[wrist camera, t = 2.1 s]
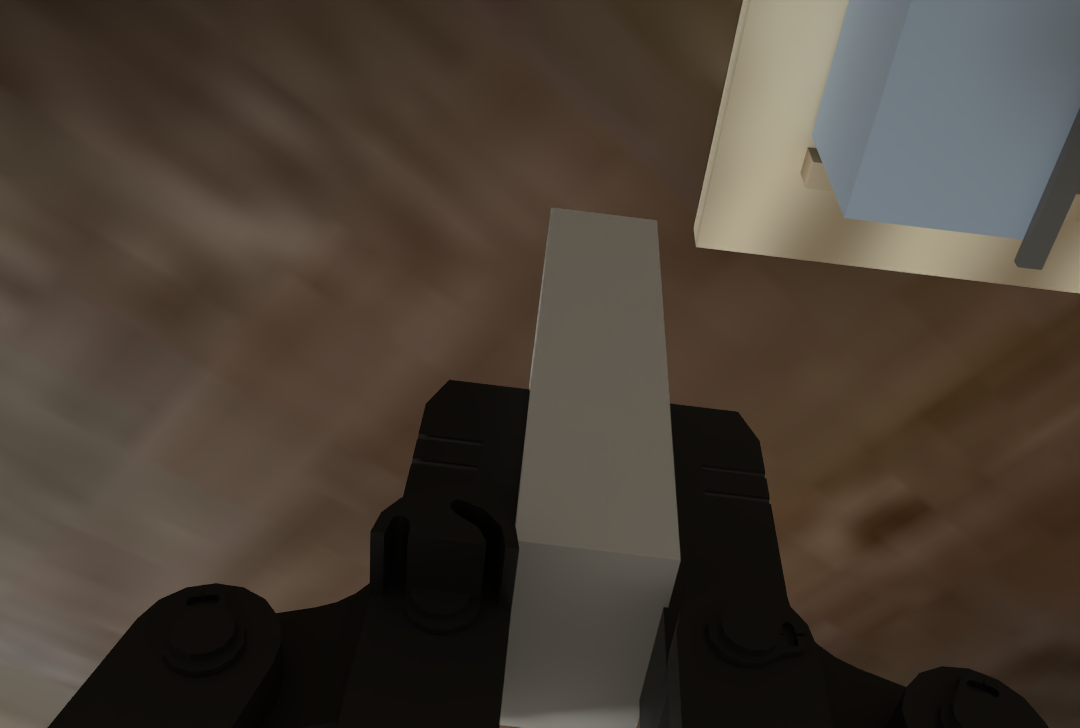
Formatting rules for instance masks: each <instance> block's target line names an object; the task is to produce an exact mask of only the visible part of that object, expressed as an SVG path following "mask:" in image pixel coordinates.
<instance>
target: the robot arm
mask: <svg viewBox="0 0 1080 728" xmlns="http://www.w3.org/2000/svg"><path fill="white" fill-rule="evenodd" d="M764 476H765V469H764V463H763V457H762V452H761V446H760V441H759V440H758V438H757V437H756V436H755V434H754V433H753V432H752V430H751V429H750V428H749V426H748V425H747V423H746V422H745V421H744V419H743V418H742V417H741V415H740V414H739V413H738V412H735V411H726V410H718V409H710V408H702V407H693V406H685V405H677V404H670V401H669V387H668V372H667V358H666V344H665V330H664V315H663V301H662V287H661V272H660V258H659V244H658V229H657V221H656V220H648V219H640V218H632V217H624V216H616V215H608V214H599V213H591V212H583V211H575V210H567V209H559V208H551V214H550V222H549V230H548V238H547V246H546V254H545V262H544V270H543V278H542V286H541V294H540V302H539V311H538V319H537V327H536V335H535V343H534V351H533V359H532V367H531V376H530V385H529V389H521V388H513V387H504V386H496V385H488V384H479V383H471V382H463V381H454V380H449V381H448V382H447V383H446V384H445V385H444V386H443V387H442V388H441V389H440V390H439V391H438V392H437V393H436V394H435V395H434V396H433V397H432V398H431V399H430V400H429V401H428V402H427V403H426V406H425V410H424V414H423V418H422V422H421V426H420V430H419V435H418V440H417V442H416V446H415V450H414V454H413V460H412V464H411V467H410V471H409V475H408V479H407V483H406V487H405V491H404V495H403V497H402V498H400V499H399V500H397V501H396V502H395V503H393V504H392V505H391V506H389V507H388V508H387V509H385V510H384V511H382V512H381V514H380V516H379V517H378V519H377V521H376V523H375V525H374V526H373V528H372V530H371V536H370V583H369V584H368V585H366V586H365V587H364V588H363V589H361V590H360V591H359V592H357V593H356V594H353V595H351V596H349V597H347V598H345V599H343V600H340V601H338V602H335V603H331V604H327V605H323V606H319V607H315V608H308V609H302V610H295V611H289V612H282V613H275V612H274V610H273V609H272V607H271V606H270V605H269V603H268V602H267V601H266V599H264V598H262V597H260V596H258V595H256V594H255V593H253V592H251V591H249V590H247V589H245V588H244V587H237V586H230V585H224V584H217V583H215V584H208V585H201V586H194V587H187V588H184V589H182V590H180V591H178V592H175V593H173V594H171V595H169V596H166V597H164V598H162V599H160V600H158V601H157V602H156V603H155V604H154V605H152V606H151V607H150V608H149V609H148V610H147V611H145V612H144V613H143V614H142V615H141V616H140V617H139V618H137V620H136V621H135V622H134V623H133V624H132V626H131V627H130V628H129V629H128V630H127V632H126V633H125V634H124V635H123V637H122V638H121V639H120V640H119V641H118V643H117V644H116V645H115V646H114V647H113V649H112V650H111V651H110V652H109V654H108V655H107V656H106V657H105V658H104V660H103V661H102V662H101V663H100V665H99V666H98V667H97V668H96V669H95V671H94V672H93V673H92V674H91V675H90V677H89V678H88V679H87V680H86V682H85V683H84V684H83V685H82V686H81V688H80V689H79V690H78V691H77V692H76V694H75V695H74V696H73V697H72V699H71V700H70V701H69V702H68V703H67V705H66V706H65V707H64V708H63V710H62V711H61V712H60V713H59V714H58V716H57V717H56V718H55V719H54V720H53V722H52V723H51V724H50V725H49V727H48V728H499V725H504V726H513V727H521V728H636V727H637V723H638V720H639V716H640V728H1048V726H1047V725H1046V723H1045V721H1044V720H1043V719H1042V718H1041V717H1040V716H1039V715H1038V713H1037V712H1036V711H1035V710H1034V709H1033V708H1032V706H1031V705H1030V704H1029V703H1028V702H1027V701H1026V700H1025V698H1023V697H1022V696H1021V695H1019V694H1018V693H1016V692H1015V691H1013V690H1012V689H1010V688H1009V687H1008V686H1006V685H1005V684H1003V683H1002V682H1000V681H999V680H997V679H995V678H992V677H989V676H987V675H984V674H982V673H979V672H976V671H974V670H971V669H967V668H955V667H943V666H942V667H938V668H935V669H932V670H928V671H925V672H922V673H919V674H918V676H917V677H916V678H915V679H914V680H913V681H912V682H911V683H910V684H909V685H908V686H907V687H904V686H902V685H899V684H896V683H894V682H891V681H889V680H886V679H884V678H881V677H879V676H876V675H873V674H871V673H868V672H866V671H863V670H861V669H858V668H856V667H854V666H852V665H850V664H848V663H846V662H844V661H842V660H840V659H838V658H836V657H834V656H833V655H832V654H830V653H829V652H827V651H826V650H825V649H823V648H822V647H820V646H819V645H818V644H817V643H816V642H815V641H814V639H813V636H812V634H811V632H810V629H809V627H808V625H807V624H806V623H805V622H804V620H803V619H802V618H801V617H800V616H799V615H798V614H797V613H796V612H795V611H794V610H793V609H792V608H791V607H790V604H789V601H788V598H787V593H786V587H785V581H784V576H783V570H782V564H781V559H780V553H779V548H778V542H777V536H776V531H775V525H774V519H773V514H772V508H771V504H769V498H770V497H769V491H768V486H767V480H766V478H765V477H764Z"/></svg>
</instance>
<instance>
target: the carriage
mask: <svg viewBox="0 0 1080 728" xmlns="http://www.w3.org/2000/svg"><path fill="white" fill-rule="evenodd" d="M812 138H813V140H814V143H815V145H816V148H817V150H818V153H819V156H820V158H821V161H822V163H823V166H824V168H825V171H826V173H827V176H828V178H829V181H830V184H831V186H832V189H833V191H834V194H835V196H836V199H837V201H838V204H839V206H840V209H841V212H842V214H843V217H844V218H848V219H856V220H865V221H873V222H881V223H889V224H898V225H906V226H914V227H922V228H930V229H939V230H947V231H955V232H963V233H971V234H980V235H988V236H996V237H1004V238H1013V239H1021V240H1023V241H1022V243H1021V245H1020V248H1019V250H1018V252H1017V255H1016V257H1015V259H1014V262H1015V264H1016V265H1017V267H1020V268H1028V269H1037V270H1042V269H1043V266H1044V264H1045V262H1046V260H1047V258H1048V255H1049V253H1050V251H1051V249H1052V247H1053V244H1054V242H1055V240H1056V238H1057V235H1058V233H1059V231H1060V229H1061V227H1062V224H1063V222H1064V220H1065V218H1066V216H1067V213H1068V211H1069V209H1070V207H1071V204H1072V202H1073V200H1074V198H1075V196H1076V193H1077V191H1078V189H1079V187H1080V0H849V2H848V6H847V9H846V13H845V16H844V20H843V24H842V27H841V31H840V35H839V38H838V42H837V45H836V49H835V53H834V56H833V60H832V64H831V67H830V71H829V74H828V78H827V82H826V85H825V89H824V93H823V96H822V100H821V103H820V107H819V111H818V114H817V118H816V122H815V125H814V129H813V132H812Z"/></svg>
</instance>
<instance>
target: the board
mask: <svg viewBox="0 0 1080 728" xmlns="http://www.w3.org/2000/svg"><path fill="white" fill-rule="evenodd" d="M848 2H849V0H743V3H742V8H741V12H740V17H739V22H738V26H737V31H736V35H735V40H734V45H733V49H732V54H731V58H730V63H729V68H728V72H727V77H726V81H725V86H724V91H723V95H722V100H721V105H720V109H719V114H718V118H717V123H716V128H715V132H714V137H713V141H712V146H711V151H710V155H709V160H708V165H707V169H706V174H705V178H704V183H703V188H702V192H701V197H700V201H699V206H698V211H697V215H696V220H695V224H694V234H695V242H696V247H701V248H709V249H718V250H726V251H734V252H742V253H751V254H759V255H767V256H775V257H784V258H792V259H800V260H808V261H817V262H825V263H833V264H842V265H850V266H858V267H866V268H875V269H883V270H891V271H899V272H908V273H916V274H924V275H932V276H941V277H949V278H957V279H966V280H974V281H982V282H990V283H999V284H1007V285H1015V286H1023V287H1032V288H1040V289H1048V290H1056V291H1065V292H1073V293H1080V187H1079V189H1078V191H1077V193H1076V196H1075V198H1074V200H1073V202H1072V204H1071V207H1070V209H1069V211H1068V213H1067V216H1066V218H1065V220H1064V222H1063V224H1062V227H1061V229H1060V231H1059V233H1058V235H1057V238H1056V240H1055V242H1054V244H1053V247H1052V249H1051V251H1050V253H1049V255H1048V258H1047V260H1046V262H1045V264H1044V266H1043V269H1042V270H1037V269H1028V268H1020V267H1017V265H1016V264H1015V262H1014V259H1015V257H1016V255H1017V252H1018V250H1019V248H1020V245H1021V243H1022V241H1023V240H1021V239H1013V238H1004V237H996V236H988V235H980V234H971V233H963V232H955V231H947V230H939V229H930V228H922V227H914V226H906V225H898V224H889V223H881V222H873V221H865V220H856V219H848V218H844V217H843V214H842V212H841V209H840V206H839V204H838V201H837V199H836V196H835V194H834V191H833V189H832V186H831V184H830V181H829V178H828V176H827V173H826V171H825V168H824V166H823V163H822V161H821V158H820V156H819V153H818V150H817V148H816V145H815V143H814V140H813V138H812V132H813V129H814V125H815V122H816V118H817V114H818V111H819V107H820V103H821V100H822V96H823V93H824V89H825V85H826V82H827V78H828V74H829V71H830V67H831V64H832V60H833V56H834V53H835V49H836V45H837V42H838V38H839V35H840V31H841V27H842V24H843V20H844V16H845V13H846V9H847V6H848Z"/></svg>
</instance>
